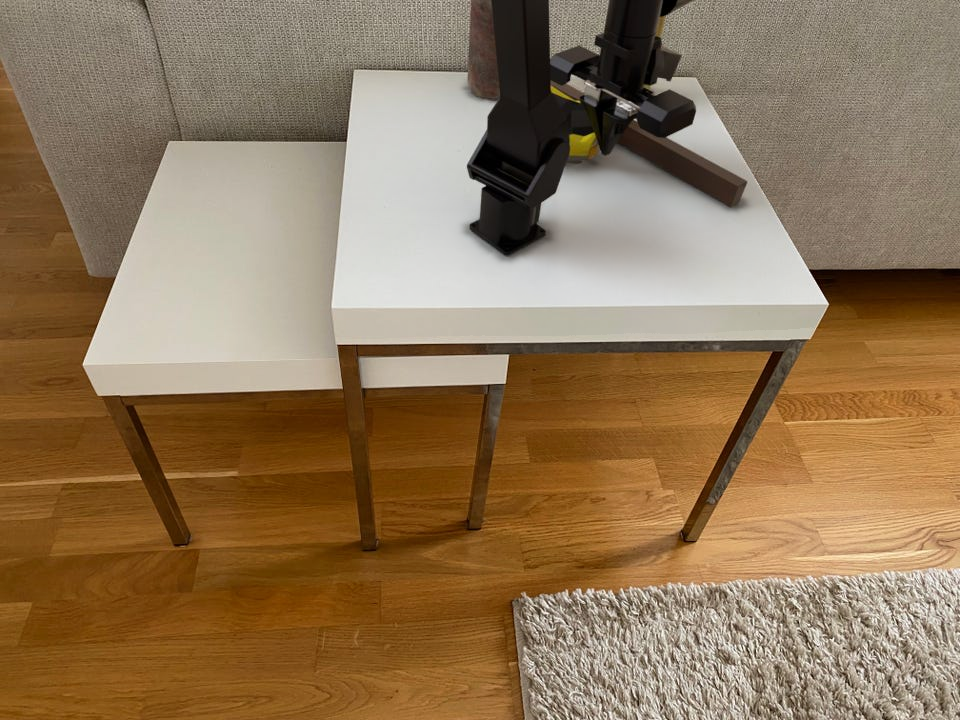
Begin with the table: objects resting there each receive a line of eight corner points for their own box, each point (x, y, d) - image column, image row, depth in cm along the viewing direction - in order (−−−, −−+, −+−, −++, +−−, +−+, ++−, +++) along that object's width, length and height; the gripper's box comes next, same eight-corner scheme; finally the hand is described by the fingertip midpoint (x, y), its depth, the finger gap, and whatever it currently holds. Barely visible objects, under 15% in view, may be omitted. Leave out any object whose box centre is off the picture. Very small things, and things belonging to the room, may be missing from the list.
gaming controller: (521, 170, 89) (599, 176, 90) (525, 130, 85) (607, 136, 85) (521, 112, 100) (591, 117, 100) (525, 74, 96) (598, 79, 96)
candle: (464, 75, 106) (470, -74, 91) (512, 76, 107) (526, -73, 92) (469, 100, 101) (476, -55, 86) (519, 100, 102) (535, -53, 87)
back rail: (730, 207, 86) (738, 186, 84) (536, 97, 103) (539, 77, 101) (739, 201, 87) (747, 181, 85) (546, 93, 104) (549, 74, 102)
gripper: (743, 39, 77) (703, 165, 88) (615, -14, 86) (594, 107, 98) (680, 65, 72) (646, 196, 83) (551, 6, 81) (537, 131, 92)
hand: (605, 154), depth 89 cm, fingers closed
